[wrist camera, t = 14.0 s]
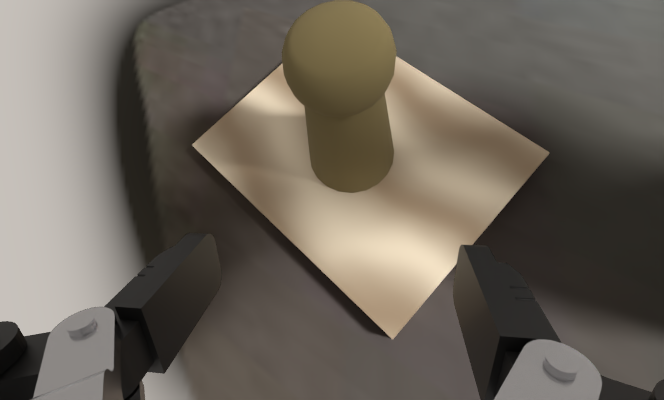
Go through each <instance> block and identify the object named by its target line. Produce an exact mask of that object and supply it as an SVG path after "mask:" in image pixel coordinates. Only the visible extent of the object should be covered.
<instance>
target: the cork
mask: <svg viewBox="0 0 664 400" xmlns="http://www.w3.org/2000/svg"><path fill="white" fill-rule="evenodd" d="M396 52H397V51H396V47H395V43H394V39H393V36H392V32H391V29H390V27H389V26H388V25H387V24H386V22H385V21H384V20H383V19H382V17H381V16H380V15H379V14H378V13H377V11H375V10H373V9H372V8H370V7H369V6H367V5H365V4H362V3H358V2H355V1H351V0H335V1H330V2H326V3H321V4H319V5H317V6H315V7H313V8H311V9H309V10H307V11H306V12H304V13H303V14H302V15H301V16H300V17H298V18H297V19H296V20H295V22H294V23H293V25H292V26H291V28H290V29H289V31H288V33H287V36H286V38H285V41H284V45H283V49H282V64H283V72H284V76H285V79H286V82H287V84H288V86H289V87H290V89H291V91H292V93H293V94H294V96H295V97H296V98H297V99H298V101H299V102H300V103H302V104H303V105H304V108H305V117H306V126H307V135H308V144H309V153H310V161H311V167H312V169H313V171H314V173H315V175H316V177H317V178H318V179H319V180H320V181H321V182H322V183H323V184H324V185H326V186H327V187H329V188H331V189H334V190H336V191H338V192H347V193H355V192H360V191H366V190H368V189H370V188H372V187H373V186H375V185H377V184H379V183H380V182H381V181H382V180H383V179H384V178H385V177H386V176H387V174H388V172H389V170H390V168H391V166H392V164H393V157H394V147H393V141H392V135H391V129H390V123H389V116H388V110H387V104H386V98H385V92H386V90H387V88H388V86H389V84H390V82H391V80H392V78H393V76H394V70H395V61H396Z"/></svg>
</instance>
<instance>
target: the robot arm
mask: <svg viewBox="0 0 664 400" xmlns="http://www.w3.org/2000/svg"><path fill="white" fill-rule="evenodd" d="M221 280H222V271H221V266H220V261H219V256H218V252H217V247H216V242H215V239H214V237H213V235H212V234H202V233H188V234H186V235H185V236H184V237H183V238H182V239H181V240H180V241H179V242H178V243H177V244H176V245H175V246H174V247H171V248H169V249H167V250H166V251H164V252H162V253H160V254H159V255H157V256H156V257H155V258H154V259H153V260H152V261H151V262H150V263H149V264H148V265H147V267H146V268H144V269H143V270H142V271H141V272H140V273H139V274H138V276H137V277H134V278H133V279H132V280H131V281H130V282H129V283H128V284H127V285H126V286H125V287H124V288H123V289H122V290H121V291H120V292H119V293H118V294H117V295H116V296H115V297H114V298H113V299H112V300H111V301H110V302H109V303H108V304H107V305H106V306H105V307H94V308H90V309H85V310H83V311H80V312H78V313H76V314H74V315H71V316H69V317H68V318H66V319H65V320H63V321H62V322H61V323H59V324H58V325H57V326H56V327H55V328H54V329H53V330H52V331H51V332H47V333H42V334H36V335H30V336H23V334H22V333H21V331H20V329H19V328H18V326H17V325H16V324H15V323H13V322H8V321H6V322H0V400H145V394H144V385H143V383H142V379H143V377H144V376H145V374H146V373H147V372H155V373H165V372H166V370H167V369H168V367H169V366H170V364H171V363H172V361H173V360H174V358H175V356H176V355H177V353H178V352H179V350H180V349H181V347H182V346H183V344H184V342H185V341H186V339H187V338H188V336H189V335H190V333H191V332H192V330H193V329H194V327H195V325H196V324H197V322H198V321H199V319H200V318H201V316H202V315H203V313H204V311H205V310H206V308H207V307H208V305H209V304H210V302H211V301H212V299H213V298H214V296H215V294H216V293H217V291H218V290H219V288H220V285H221ZM453 298H454V305H455V309H456V313H457V316H458V320H459V323H460V327H461V331H462V334H463V338H464V341H465V345H466V348H467V352H468V356H469V359H470V363H471V366H472V370H473V374H474V377H475V381H476V384H477V388H478V392H479V395H480V399H481V400H664V380H661V381H659V382H658V383H657V384H656V386H655V388H654V389H653V391H652V392H649V391H646V390H643V389H640V388H637V387H634V386H631V385H627V384H624V383H621V382H618V381H615V380H612V379H609V378H606V377H604V376H602V375H600V374H599V372H598V370H597V369H596V367H595V366H594V365H593V364H592V363H591V362H590V361H589V360H588V359H587V358H586V357H585V356H584V355H582V354H581V353H580V352H578V351H577V350H575V349H573V348H571V347H569V346H567V345H565V344H563V343H561V341H560V339H559V338H558V336H557V334H556V333H555V331H554V329H553V328H552V326H551V324H550V323H549V321H548V319H547V318H546V316H545V314H544V313H543V311H542V309H541V308H540V306H539V304H538V303H537V301H535V298H534V296H533V294H532V292H531V291H530V290H529V287H528V286H527V284H526V282H525V281H524V279H523V277H522V276H521V274H520V273H518V272H517V271H516V270H515V269H513V268H512V267H511V266H510V265H508V264H507V263H497V262H496V260H495V258H494V256H493V254H492V252H491V251H490V249H489V247H488V246H484V245H461V246H460V248H459V252H458V259H457V265H456V272H455V278H454V285H453Z"/></svg>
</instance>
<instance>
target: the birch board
mask: <svg viewBox="0 0 664 400" xmlns="http://www.w3.org/2000/svg"><path fill="white" fill-rule="evenodd" d="M385 98H386V104H387V110H388V116H389V123H390V129H391V135H392V141H393V147H394V157H393V164H392V166H391V168H390V170H389V172H388V174H387V176H386V177H385V178H384V179H383V180H382V181H381V182H380V183H379V184H377V185H375V186H373V187H372V188H370V189H368V190H366V191H360V192H355V193H347V192H338V191H336V190H334V189H331V188H329V187H327V186H326V185H324V184H323V183H322V182H321V181H320V180H319V179H318V178H317V177H316V175H315V173H314V171H313V169H312V167H311V161H310V153H309V144H308V135H307V126H306V117H305V108H304V105H303V104H302V103H300V102H299V101H298V99H297V98H296V97H295V96H294V94H293V93H292V91H291V89H290V87H289V86H288V84H287V82H286V79H285V76H284V72H283V64H281V65H280V66H279V67H278V68H277V69H275V70H274V71H273V72H272V73H271V74H270V75H269V76H268V77H267V78H265V79H264V80H263V81H262V82H261V83H260V84H259V85H258V86H257V87H255V88H254V89H253V90H252V91H251V92H250V93H249V94H248V95H247V96H245V97H244V98H243V99H242V100H241V101H240V102H239V103H238V104H237V105H235V106H234V107H233V108H232V109H231V110H230V111H229V112H228V113H227V114H225V115H224V116H223V117H222V118H221V119H220V120H219V121H218V122H217V123H215V124H214V125H213V126H212V127H211V128H210V129H209V130H208V131H207V132H205V133H204V134H203V135H202V136H201V137H200V138H199V139H198V140H197V141H195V142H194V143H193V144H192V146H193V147H194V148H195V149H196V150H197V151H198V152H199V153H200V154H201V155H202V156H203V157H205V158H206V159H207V160H208V161H209V162H210V163H211V164H212V165H213V166H214V167H215V168H216V169H217V170H218V171H219V172H220V173H221V174H222V175H223V176H224V177H225V178H226V179H227V180H228V181H229V182H230V183H231V184H232V185H233V186H234V187H236V188H237V189H238V190H239V191H240V192H241V193H242V194H243V195H244V196H245V197H246V198H247V199H248V200H249V201H250V202H251V203H252V204H253V205H254V206H255V207H256V208H257V209H258V210H259V211H260V212H261V213H262V214H263V215H264V216H265V217H267V218H268V219H269V220H270V221H271V222H272V223H273V224H274V225H275V226H276V227H277V228H278V229H279V230H280V231H281V232H282V233H283V234H284V235H285V236H286V237H287V238H288V239H289V240H290V241H291V242H292V243H293V244H294V245H295V246H296V247H298V248H299V249H300V250H301V251H302V252H303V253H304V254H305V255H306V256H307V257H308V258H309V259H310V260H311V261H312V262H313V263H314V264H315V265H316V266H317V267H318V268H319V269H320V270H321V271H322V272H323V273H324V274H325V275H326V276H327V277H329V278H330V279H331V280H332V281H333V282H334V283H335V284H336V285H337V286H338V287H339V288H340V289H341V290H342V291H343V292H344V293H345V294H346V295H347V296H348V297H349V298H350V299H351V300H352V301H353V302H354V303H355V304H356V305H357V306H358V307H360V308H361V309H362V310H363V311H364V312H365V313H366V314H367V315H368V316H369V317H370V318H371V319H372V320H373V321H374V322H375V323H376V324H377V325H378V326H379V327H380V328H381V329H382V330H383V331H384V332H385V333H386V334H387V335H388V336H389V337H391V338H392V339H394V337H395V336H396V335H397V334H398V333H399V331H400V330H401V329H402V328H403V327H404V325H405V324H406V323H407V322H408V321H409V320H410V318H411V317H412V316H413V315H414V314H415V312H416V311H417V310H418V309H419V308H420V306H421V305H422V304H423V303H424V302H425V301H426V299H427V298H428V297H429V296H430V295H431V293H432V292H433V291H434V290H435V289H436V287H437V286H438V285H439V284H440V283H441V281H442V280H443V279H444V278H445V277H446V276H447V274H448V273H449V272H450V271H451V270H452V268H453V267H454V266H455V265H456V264H457V259H458V252H459V248H460V246H461V245H473V243H474V242H475V241H476V240H477V239H478V237H479V236H480V235H481V234H482V233H483V232H484V230H485V229H486V228H487V227H488V226H489V224H490V223H491V222H492V221H493V220H494V218H495V217H496V216H497V215H498V214H499V213H500V211H501V210H502V209H503V208H504V207H505V205H506V204H507V203H508V202H509V201H510V199H511V198H512V197H513V196H514V195H515V194H516V192H517V191H518V190H519V189H520V188H521V186H522V185H523V184H524V183H525V182H526V180H527V179H528V178H529V177H530V176H531V174H532V173H533V172H534V171H535V170H536V169H537V167H538V166H539V165H540V164H541V163H542V161H543V160H544V159H545V158H546V157H547V155H548V154H549V152H548V151H546V150H545V149H543V148H541V147H540V146H538V145H537V144H535V143H534V142H532V141H530V140H529V139H527V138H526V137H524V136H522V135H521V134H519V133H518V132H516V131H514V130H513V129H511V128H510V127H508V126H506V125H505V124H503V123H502V122H500V121H498V120H497V119H495V118H494V117H492V116H490V115H489V114H487V113H486V112H484V111H482V110H481V109H479V108H478V107H476V106H475V105H473V104H471V103H470V102H468V101H467V100H465V99H463V98H462V97H460V96H459V95H457V94H455V93H454V92H452V91H451V90H449V89H447V88H446V87H444V86H443V85H441V84H439V83H438V82H436V81H435V80H433V79H431V78H430V77H428V76H427V75H425V74H423V73H422V72H420V71H419V70H417V69H416V68H414V67H412V66H411V65H409V64H408V63H406V62H404V61H403V60H401V59H400V58H398V57H396V61H395V70H394V76H393V78H392V80H391V82H390V84H389V86H388V88H387V90H386V92H385Z"/></svg>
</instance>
